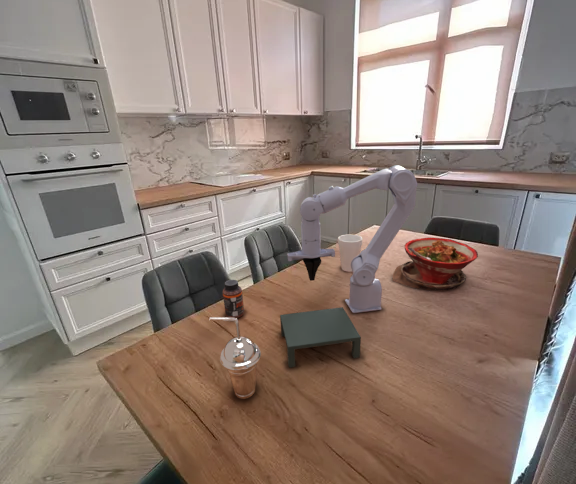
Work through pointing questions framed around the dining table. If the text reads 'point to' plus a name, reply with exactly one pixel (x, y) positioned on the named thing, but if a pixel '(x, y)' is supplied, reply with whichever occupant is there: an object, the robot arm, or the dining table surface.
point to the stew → (434, 263)
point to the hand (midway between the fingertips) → (311, 279)
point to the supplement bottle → (233, 299)
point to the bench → (318, 330)
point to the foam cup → (349, 249)
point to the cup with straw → (240, 361)
